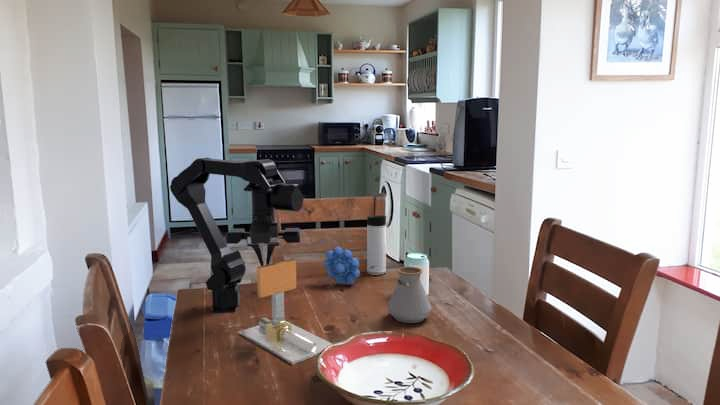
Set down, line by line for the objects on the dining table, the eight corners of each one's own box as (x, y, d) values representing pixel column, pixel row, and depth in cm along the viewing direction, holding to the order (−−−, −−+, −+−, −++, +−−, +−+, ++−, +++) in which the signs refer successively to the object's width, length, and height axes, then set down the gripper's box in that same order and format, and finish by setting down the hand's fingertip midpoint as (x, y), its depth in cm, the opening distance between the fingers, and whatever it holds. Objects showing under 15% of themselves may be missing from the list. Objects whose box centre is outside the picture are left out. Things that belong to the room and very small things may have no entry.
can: (418, 289, 160) (419, 251, 158) (433, 296, 154) (434, 256, 152) (399, 293, 157) (400, 254, 155) (413, 300, 151) (414, 259, 149)
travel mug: (373, 277, 172) (373, 217, 169) (363, 272, 178) (363, 213, 175) (389, 274, 175) (390, 215, 172) (379, 269, 181) (380, 212, 178)
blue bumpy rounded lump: (320, 287, 162) (319, 249, 160) (326, 280, 169) (325, 244, 167) (357, 290, 160) (357, 251, 158) (361, 283, 166) (361, 246, 164)
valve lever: (258, 328, 123) (256, 266, 121) (293, 317, 130) (292, 258, 127) (262, 330, 122) (260, 268, 119) (297, 319, 129) (296, 260, 126)
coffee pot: (392, 307, 145) (392, 254, 143) (434, 311, 142) (435, 257, 140) (373, 339, 125) (373, 278, 122) (421, 344, 122) (423, 282, 119)
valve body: (239, 333, 128) (239, 320, 128) (280, 320, 136) (280, 308, 136) (292, 364, 112) (292, 350, 112) (335, 347, 120) (335, 334, 120)
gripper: (219, 215, 127) (222, 277, 129) (297, 214, 128) (299, 276, 130) (228, 207, 138) (231, 265, 140) (300, 206, 139) (301, 264, 141)
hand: (265, 267), depth 138 cm, fingers closed
